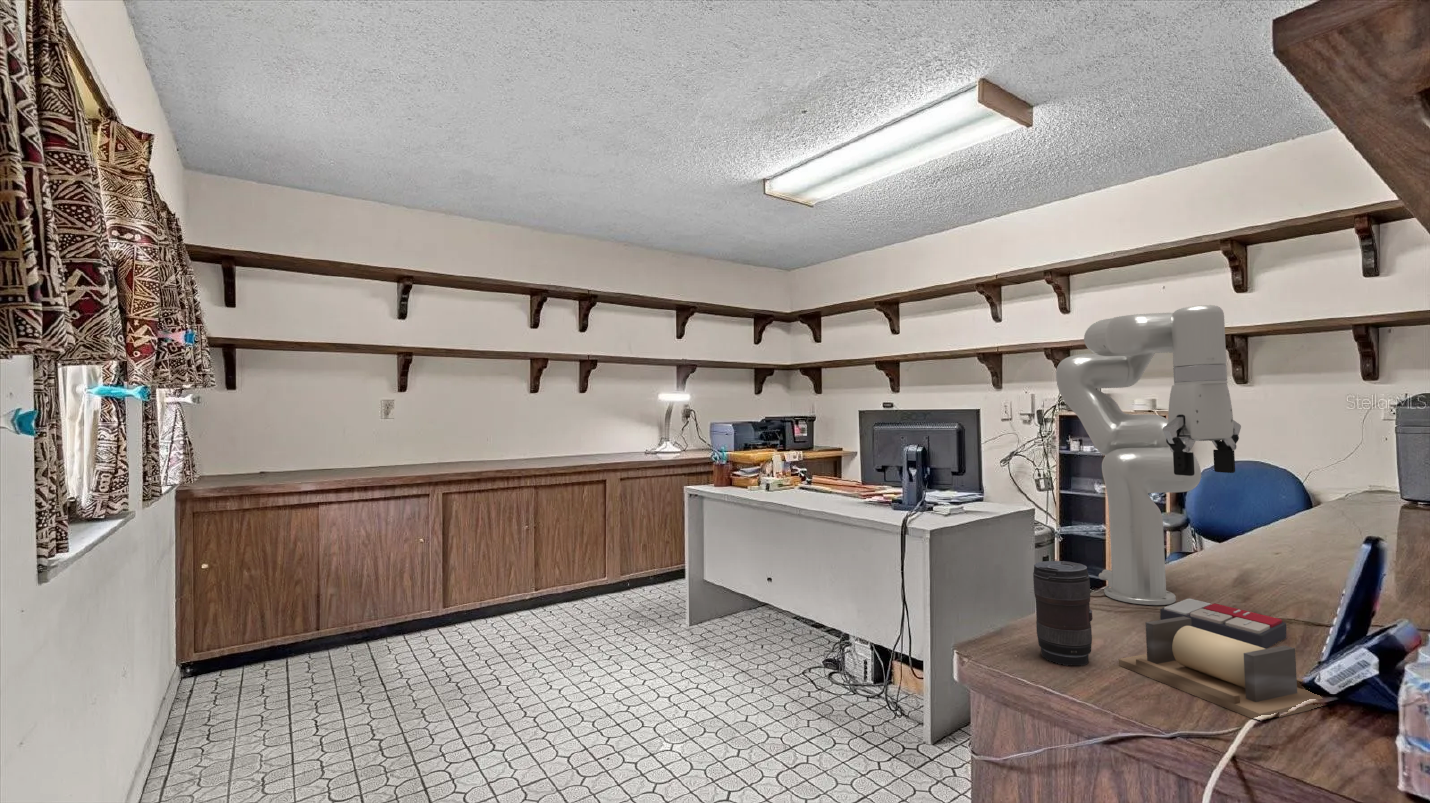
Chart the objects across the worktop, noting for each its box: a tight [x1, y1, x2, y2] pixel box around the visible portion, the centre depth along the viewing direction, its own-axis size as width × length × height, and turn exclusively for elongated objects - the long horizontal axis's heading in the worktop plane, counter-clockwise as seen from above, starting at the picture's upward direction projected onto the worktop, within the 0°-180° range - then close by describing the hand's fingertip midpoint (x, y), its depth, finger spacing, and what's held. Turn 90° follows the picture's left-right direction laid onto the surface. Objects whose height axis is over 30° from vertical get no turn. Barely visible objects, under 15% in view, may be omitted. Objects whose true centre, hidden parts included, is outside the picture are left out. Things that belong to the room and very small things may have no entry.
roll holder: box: [1118, 616, 1323, 719], centre depth 93 cm, size 20×14×7 cm
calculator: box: [1159, 598, 1287, 649], centre depth 114 cm, size 11×4×15 cm
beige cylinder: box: [1172, 626, 1265, 688], centre depth 92 cm, size 10×6×6 cm
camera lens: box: [1032, 560, 1093, 666], centre depth 104 cm, size 8×8×15 cm
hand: (1204, 473), depth 113 cm, fingers open, 9 cm apart
